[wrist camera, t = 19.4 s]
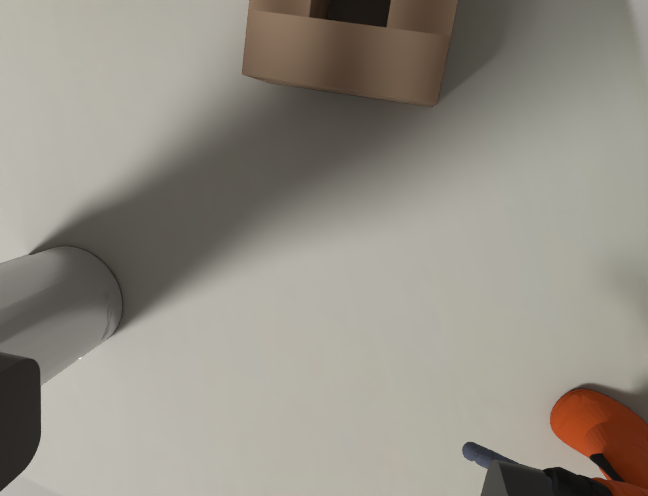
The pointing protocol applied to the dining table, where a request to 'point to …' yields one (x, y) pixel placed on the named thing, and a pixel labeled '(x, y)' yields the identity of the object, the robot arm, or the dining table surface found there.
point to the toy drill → (592, 446)
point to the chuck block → (351, 49)
